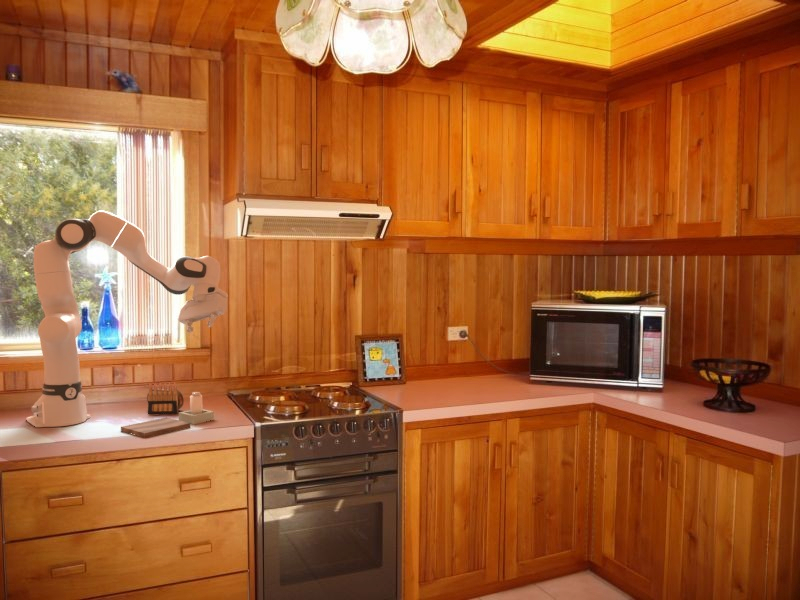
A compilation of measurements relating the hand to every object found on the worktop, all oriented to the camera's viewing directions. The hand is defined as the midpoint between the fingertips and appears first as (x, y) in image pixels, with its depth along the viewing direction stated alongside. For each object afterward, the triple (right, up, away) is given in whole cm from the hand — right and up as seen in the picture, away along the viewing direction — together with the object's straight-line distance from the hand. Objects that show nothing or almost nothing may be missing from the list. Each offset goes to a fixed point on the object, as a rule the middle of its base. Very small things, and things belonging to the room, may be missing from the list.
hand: (199, 328), depth 237 cm
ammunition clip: (-15, -32, +5) cm, 36 cm away
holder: (+1, -32, -6) cm, 33 cm away
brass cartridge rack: (-17, -32, +11) cm, 38 cm away
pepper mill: (+1, -32, -6) cm, 33 cm away
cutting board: (-9, -33, -19) cm, 39 cm away
